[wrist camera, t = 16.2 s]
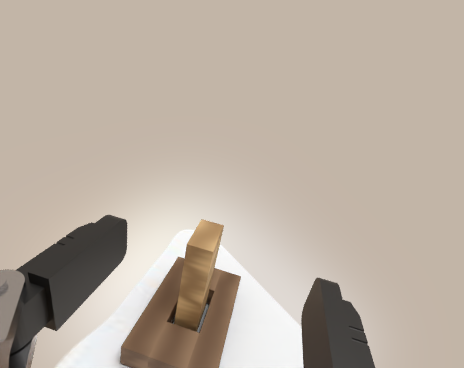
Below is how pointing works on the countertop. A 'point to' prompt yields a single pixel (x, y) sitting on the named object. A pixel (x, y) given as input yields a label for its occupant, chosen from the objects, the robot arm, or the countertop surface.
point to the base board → (176, 337)
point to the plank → (197, 274)
